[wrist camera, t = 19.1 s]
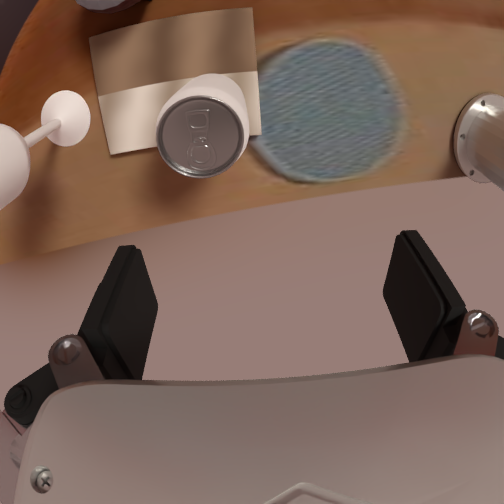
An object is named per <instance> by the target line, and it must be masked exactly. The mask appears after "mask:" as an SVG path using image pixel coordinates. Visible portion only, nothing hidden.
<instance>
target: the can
mask: <svg viewBox="0 0 504 504" xmlns="http://www.w3.org/2000/svg"><path fill="white" fill-rule="evenodd" d="M248 138H249V119H248V113H247V108H246V103H245V99H244V95H243V93H242V91H241V89H240V87H239V86H238V85H237V84H236V83H235V82H234V81H233V80H232V79H230V78H228V77H226V76H224V75H220V74H213V73H212V74H204V75H200V76H198V77H196V78H194V79H192V80H191V81H189V82H188V83H187V84H186V85H184V86H183V87H182V88H181V89H180V90H178V91H177V92H176V93H175V94H174V95H173V96H172V97H171V98H170V99H169V100H168V101H167V102H166V103H165V105H164V106H163V108H162V109H161V111H160V113H159V115H158V118H157V122H156V142H157V147H158V150H159V153H160V155H161V157H162V158H163V160H164V161H165V163H166V164H167V165H168V166H169V167H170V168H172V169H173V170H174V171H176V172H178V173H179V174H182V175H184V176H187V177H191V178H209V177H213V176H216V175H219V174H221V173H223V172H224V171H226V170H227V169H229V168H230V167H231V166H232V165H233V164H234V163H235V162H236V161H237V160H238V159H239V157H240V156H241V155H242V153H243V152H244V150H245V148H246V145H247V142H248Z"/></svg>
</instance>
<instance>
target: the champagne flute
mask: <svg viewBox="0 0 504 504" xmlns="http://www.w3.org/2000/svg"><path fill="white" fill-rule="evenodd" d="M41 124H42V127H40V128H39V129H37V130H35V131H34V132H32V133H30V134H29V135H27V136H26V137H24V138H23V137H22V136H21V135H20V134H19V133H18V132H17V131H16V130H14V129H13V128H12V127H9V126H7V125H4V124H0V210H1V209H2V208H4V207H5V206H6V205H7V204H9V203H10V202H11V201H13V200H14V199H15V198H16V197H18V196H19V195H20V194H21V192H22V191H23V189H24V188H25V186H26V184H27V181H28V177H29V172H30V153H29V148H30V147H31V146H33V145H34V144H36V143H37V142H39V141H40V140H42V139H43V138H45V137H46V136H47V137H48V138H49V139H50V140H51V141H52V142H53V143H55V144H57V145H59V146H72V145H75V144H77V143H78V142H80V141H81V140H82V139H83V138H84V137H85V135H86V133H87V132H88V129H89V126H90V111H89V108H88V105H87V103H86V102H85V100H84V99H83V98H82V97H81V96H80V95H78V94H77V93H75V92H72V91H67V90H66V91H60V92H57V93H55V94H53V95H52V96H51V97H50V98H49V99H48V100H47V101H46V103H45V105H44V107H43V109H42V114H41Z"/></svg>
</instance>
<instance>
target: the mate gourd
mask: <svg viewBox="0 0 504 504" xmlns="http://www.w3.org/2000/svg"><path fill="white" fill-rule="evenodd" d="M140 1H141V0H76V2H77V3H78V4H80V5H81V6H83V7H84V8H86V9H88V10H90V11H92V12H95V13H108V14H110V13H115V12H118V11H122V10H125V9H128V8H129V7H131V6H133V5H134V4H136V3H138V2H140ZM149 1H151V0H149Z"/></svg>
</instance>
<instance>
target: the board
mask: <svg viewBox="0 0 504 504" xmlns="http://www.w3.org/2000/svg"><path fill="white" fill-rule="evenodd" d="M89 44H90V51H91V58H92V64H93V71H94V77H95V82H96V88H97V94H98V99H99V104H100V109H101V114H102V119H103V124H104V128H105V133H106V137H107V142H108V146H109V150H110V154H111V155H112V154H117V153H122V152H127V151H133V150H139V149H145V148H151V147H157V142H156V122H157V118H158V115H159V113H160V111H161V109H162V108H163V106H164V105H165V103H166V102H167V101H168V100H169V99H170V98H171V97H172V96H173V95H174V94H175V93H176V92H177V91H178V90H180V89H181V88H182V87H183V86H184V85H186V84H187V83H188V82H189V81H191V80H192V79H194V78H196V77H198V76H200V75H204V74H212V73H213V74H220V75H224V76H226V77H228V78H230V79H232V80H233V81H234V82H235V83H236V84H237V85H238V86H239V87H240V89H241V91H242V93H243V95H244V99H245V103H246V108H247V113H248V119H249V136H250V135H261V119H260V105H259V90H258V76H257V62H256V49H255V36H254V23H253V10H252V7H251V8H236V9H225V10H215V11H207V12H199V13H192V14H186V15H179V16H174V17H168V18H163V19H158V20H153V21H148V22H144V23H140V24H135V25H131V26H127V27H124V28H120V29H116V30H112V31H109V32H106V33H102V34H99V35H96V36H92V37H89Z"/></svg>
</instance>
